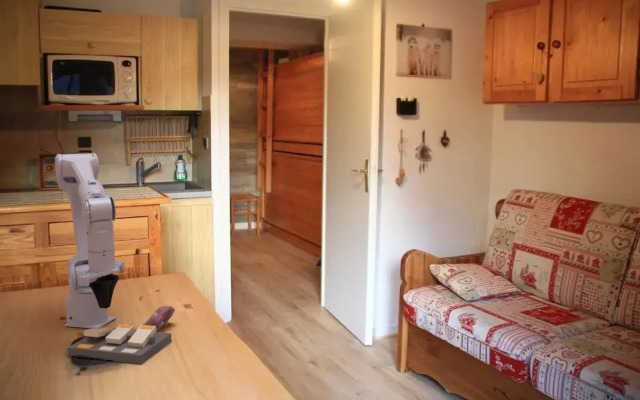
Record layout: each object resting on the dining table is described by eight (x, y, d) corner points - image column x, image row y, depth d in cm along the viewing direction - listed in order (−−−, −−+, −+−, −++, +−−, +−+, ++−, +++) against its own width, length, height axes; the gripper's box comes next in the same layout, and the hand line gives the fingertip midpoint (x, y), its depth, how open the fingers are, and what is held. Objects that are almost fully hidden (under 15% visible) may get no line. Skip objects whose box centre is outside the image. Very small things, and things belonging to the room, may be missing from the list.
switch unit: (67, 356, 125) (66, 341, 125) (103, 334, 138) (102, 320, 137) (141, 364, 121) (140, 348, 120) (171, 341, 133) (170, 327, 133)
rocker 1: (83, 335, 128) (84, 329, 128) (100, 331, 133) (100, 326, 133) (97, 337, 127) (98, 331, 127) (113, 333, 132) (114, 327, 133)
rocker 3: (128, 346, 125) (127, 341, 125) (142, 328, 131) (141, 324, 130) (143, 347, 125) (142, 343, 124) (156, 330, 130) (155, 325, 129)
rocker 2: (106, 342, 127) (105, 337, 126) (121, 328, 132) (120, 323, 132) (120, 344, 126) (119, 338, 125) (135, 329, 131) (134, 325, 131)
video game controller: (151, 343, 136) (162, 318, 135) (135, 334, 137) (146, 309, 135) (170, 328, 146) (180, 305, 144) (154, 319, 146) (165, 296, 145)
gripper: (96, 258, 122) (100, 319, 124) (134, 243, 136) (137, 298, 138) (68, 256, 124) (72, 316, 126) (108, 242, 138) (111, 296, 140)
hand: (104, 307), depth 132 cm, fingers closed
